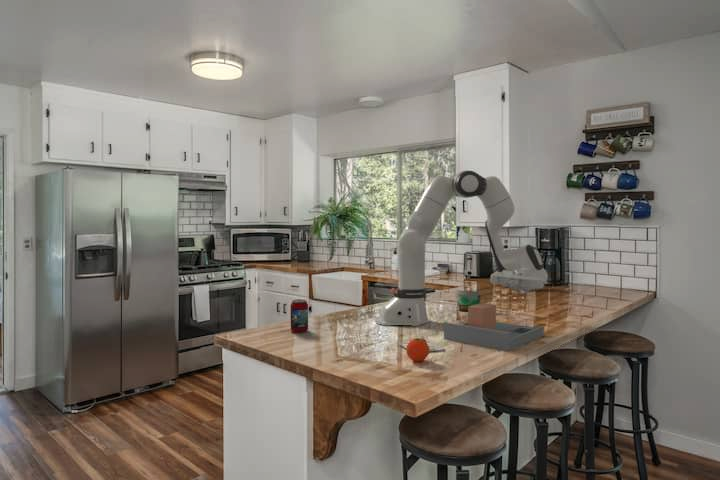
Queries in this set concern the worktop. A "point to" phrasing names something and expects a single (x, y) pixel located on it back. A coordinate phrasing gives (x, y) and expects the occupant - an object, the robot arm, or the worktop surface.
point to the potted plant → (467, 299)
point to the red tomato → (417, 349)
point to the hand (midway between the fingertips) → (507, 282)
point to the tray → (493, 335)
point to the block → (482, 316)
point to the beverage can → (299, 316)
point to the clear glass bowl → (428, 342)
